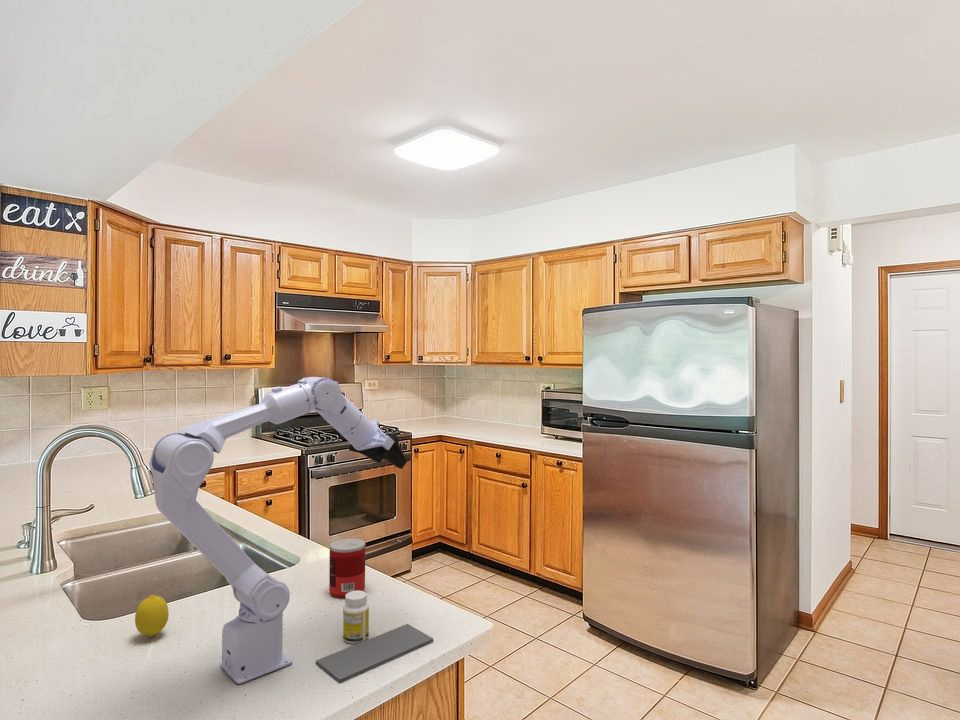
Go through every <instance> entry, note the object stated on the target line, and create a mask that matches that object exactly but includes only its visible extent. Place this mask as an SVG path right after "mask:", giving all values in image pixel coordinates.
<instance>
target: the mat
mask: <svg viewBox="0 0 960 720" xmlns="http://www.w3.org/2000/svg"><path fill="white" fill-rule="evenodd" d="M431 643H434V637H431V636H430V635H428V634H427V633H424V632H423V631H421V630H420V629H417V627H414V626H412V625H410V624H409V623H407V624H403V625H401V626H399V627H396V628H393V629H391V630H388V631H386V632H383V633H381V634H378V635H376V636H374V637H371V638H368V639H367V640H365V641H363V642H361V643H358V644H352V645H351V646H348V647H346V648H344V649H341V650H338V651H336V652H334V653H331V654H328V655H325V656H324V657H321V658H319V659H315V664H316V665H317V666H318V667H319V668H320V669H321V670H323V671H324V672H325V673H326V674H328V676H330V677H331V678H333V679H334V680H335V681H336V682H338V683H339V684H340V683H344V682H346V681H347V680H348V681H349V680H350V679H352V678H355V677H357V676H359V675H361V674H363V673H366V672H368V671H370V670H372V669H375V668H377V667H379V666H382V665H384V664H386V663H389V662H391V661H393V660H395V659H398V658H400V657H402V656H404V655H406V654H407V655H408V654H409V653H411V652H414V651H415V650H418V649H420V648H422V647H424V646H427V645H429V644H431Z"/></svg>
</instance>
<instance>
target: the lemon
mask: <svg viewBox="0 0 960 720" xmlns="http://www.w3.org/2000/svg"><path fill="white" fill-rule="evenodd" d="M168 620H169V606H168V603H167V601H166V600H165V599H164V598H163V597H162V596H158V595H155V594H151V595H149V596H148V597H147V598H146V597H145V598H144V599H143V600H142V601H140V602H139V605H138V606H137V609H136V611H135V614H134V624H135V628H136V630H137V631H138V632H139V633H140V634H142V635H143V636H148V637H149V638H154V637H155V636H156V635H157V634H159V633H160V632H161V631H162V630H163V629H165V627H166V625H167V623H168Z"/></svg>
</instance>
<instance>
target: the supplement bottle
mask: <svg viewBox="0 0 960 720" xmlns="http://www.w3.org/2000/svg"><path fill="white" fill-rule="evenodd" d="M367 597H368V596H367V593H366V591H365V590H364V591H351V592H349V593H347V594H346V596H345V598H344V601H345V603H344V606H343V609H342V610H343V612H342V613H343V615H342V617H343V621H342V626H343V627H342V629H343V631H342V633H343V636H342V637H343V641H344V642H345V643H347V644H350V645H356V644H358V643H361V642H363V641H366V640H368V639H369V636H370V635H369V634H370V633H369V629H370V626H369V624H370V623H369V621H370V620H369V618H370V613H369V612H370V608H369V603H368V602H367V601H368V600H367V599H368V598H367Z"/></svg>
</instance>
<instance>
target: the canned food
mask: <svg viewBox="0 0 960 720" xmlns="http://www.w3.org/2000/svg"><path fill="white" fill-rule="evenodd" d="M328 565H329V570H328V572H329V577H328V579H329V584H328V585H329V587H328V588H329V589H328V590H329V594H330V596H332V597H333V596H334V598H336V597H338V598H337V599H342V598H344V599H345V596H346V594H347V593H349V592H351V591H364V592H365V587H366V542H365V541H364V539H360V538H354V537H353V538H343V539H341V538H340V539H337V540H335V541H333V542H331V543H330V545H329V563H328Z"/></svg>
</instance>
